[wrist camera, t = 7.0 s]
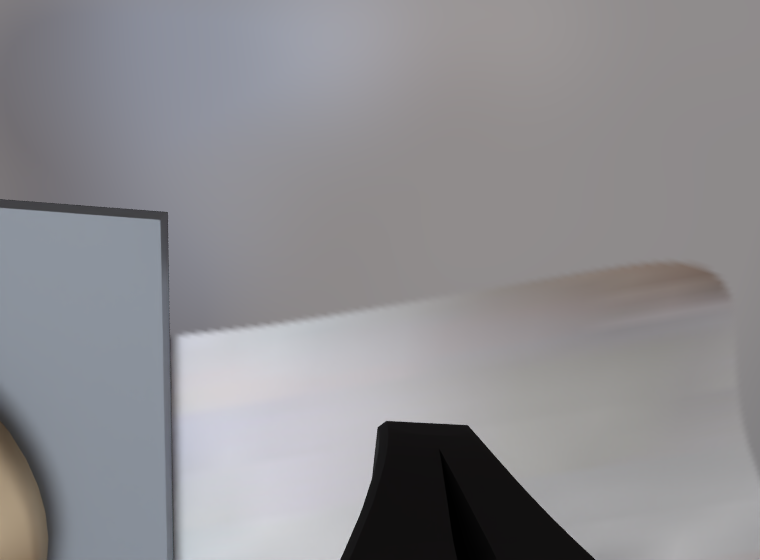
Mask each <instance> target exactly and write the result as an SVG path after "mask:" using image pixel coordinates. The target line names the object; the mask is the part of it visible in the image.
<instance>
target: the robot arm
mask: <svg viewBox="0 0 760 560" xmlns="http://www.w3.org/2000/svg"><path fill="white" fill-rule="evenodd" d="M340 560H595V559H594V558H593V557H592V556H591V555H590V554H589V553H588V552H587V551H586V550H585V549H583V548H582V547H581V546H580V545H579V544H578V543H577V542H576V541H575V540H574V539H573V538H572V537H571V536H570V535H569V534H568V533H567V532H566V531H565V530H564V529H563V528H562V527H561V526H560V525H558V524H557V523H556V522H555V521H554V520H553V519H552V518H551V517H550V515H549V514H548V513H547V512H546V511H545V510H544V509H543V508H542V507H541V506H540V505H539V504H538V503H537V502H536V501H535V500H534V499H533V498H532V497H531V496H530V495H529V494H528V492H527V491H526V490H525V489H524V488H523V487H522V486H521V485H520V484H519V483H518V482H517V480H516V479H515V478H514V477H513V476H512V475H511V474H510V473H509V472H508V470H507V469H506V468H505V467H504V466H503V465H502V464H501V463H500V461H499V460H498V459H497V458H496V457H495V456H494V455H493V453H492V452H491V451H490V450H489V449H488V448H487V447H486V445H485V444H484V443H483V442H482V441H481V440H480V438H479V437H478V436H477V435H476V434H475V433H474V432H473V431H472V430H471V428H470V427H469V426H468V425H452V424H433V423H414V422H394V421H386V422H384V423H383V424H382V425H380V426H379V427H378V429H377V439H376V448H375V457H374V466H373V475H372V480H371V484H370V487H369V490H368V493H367V496H366V499H365V502H364V505H363V508H362V511H361V513H360V516H359V518H358V521H357V523H356V525H355V527H354V530H353V532H352V534H351V537H350V539H349V541H348V544H347V546H346V548H345V551H344V553H343V555H342V557H341V559H340Z"/></svg>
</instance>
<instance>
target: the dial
mask: <svg viewBox="0 0 760 560" xmlns="http://www.w3.org/2000/svg"><path fill="white" fill-rule="evenodd" d="M47 553H48V530H47V521H46V513H45V509H44V505H43V502H42V498H41V495H40V491H39V487H38V485H37V482H36V480H35V478H34V476H33V473H32V471H31V469H30V467H29V464H28V462H27V460H26V458H25V456H24V455H23V453H22V452H21V450H20V448H19V447H18V445H17V444H16V442H15V440H14V439H13V437H12V435H11V434H10V432H9V431H8V430H7V429H6V427H5V426H4V425H3V424H2V422H1V421H0V560H47Z"/></svg>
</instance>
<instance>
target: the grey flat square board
mask: <svg viewBox="0 0 760 560" xmlns="http://www.w3.org/2000/svg"><path fill="white" fill-rule="evenodd" d="M169 328H170V326H169V263H168V212H158V211H146V210H133V209H120V208H107V207H93V206H81V205H68V204H55V203H42V202H29V201H15V200H3V199H0V421H1V422H2V424H3V425H4V426H5V427H6V429H7V430H8V431H9V432H10V434H11V435H12V437H13V439H14V440H15V442H16V444H17V445H18V447H19V448H20V450H21V452H22V453H23V455H24V456H25V458H26V460H27V462H28V464H29V467H30V469H31V471H32V473H33V476H34V478H35V480H36V482H37V485H38V487H39V491H40V495H41V498H42V502H43V505H44V509H45V513H46V521H47V530H48V553H47V560H173V513H172V450H171V388H170V329H169Z"/></svg>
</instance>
